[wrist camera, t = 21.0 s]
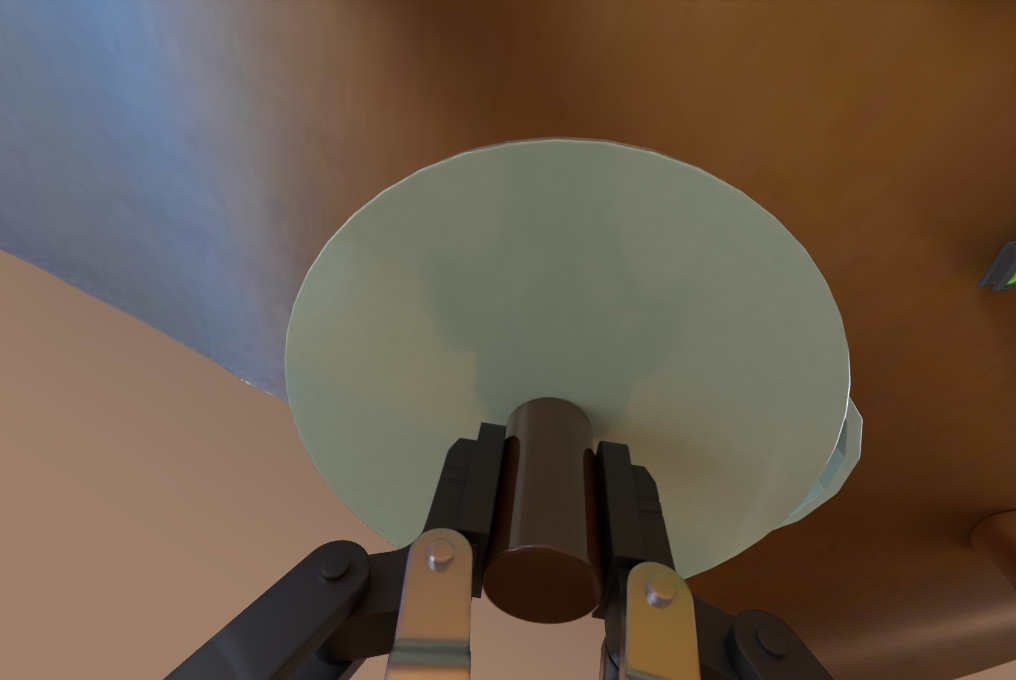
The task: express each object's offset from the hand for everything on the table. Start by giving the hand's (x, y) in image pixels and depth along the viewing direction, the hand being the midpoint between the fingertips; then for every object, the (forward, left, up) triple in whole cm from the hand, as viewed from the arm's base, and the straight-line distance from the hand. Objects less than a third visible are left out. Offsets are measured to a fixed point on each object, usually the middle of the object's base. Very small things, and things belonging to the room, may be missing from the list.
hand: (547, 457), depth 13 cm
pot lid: (0, 0, -2) cm, 2 cm away
